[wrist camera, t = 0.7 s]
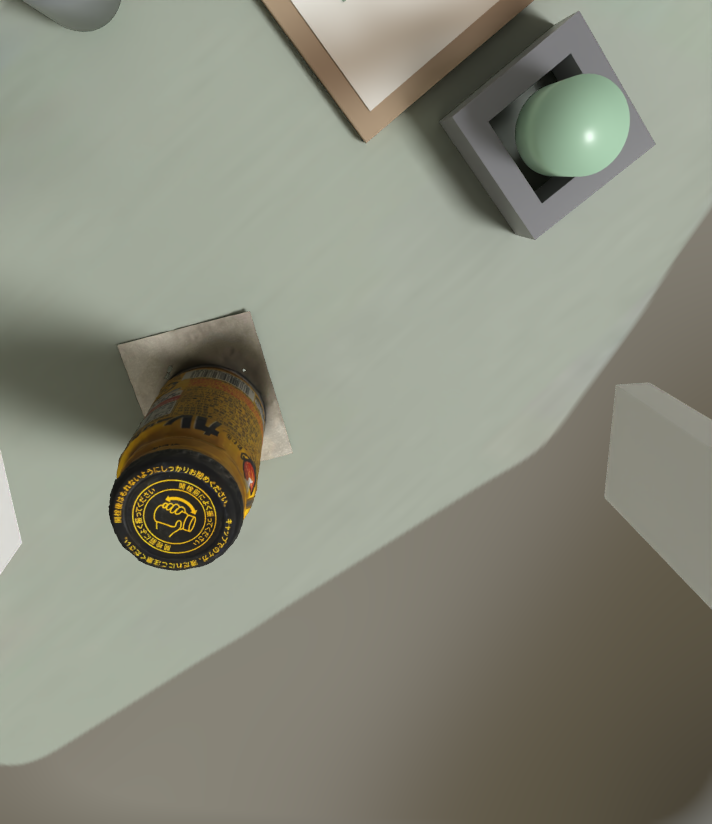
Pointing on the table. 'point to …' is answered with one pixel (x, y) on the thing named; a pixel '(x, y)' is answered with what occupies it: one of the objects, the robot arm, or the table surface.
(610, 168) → the button box
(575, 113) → the button
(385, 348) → the table surface
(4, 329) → the table surface
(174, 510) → the condiment
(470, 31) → the framed board
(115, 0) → the marker
